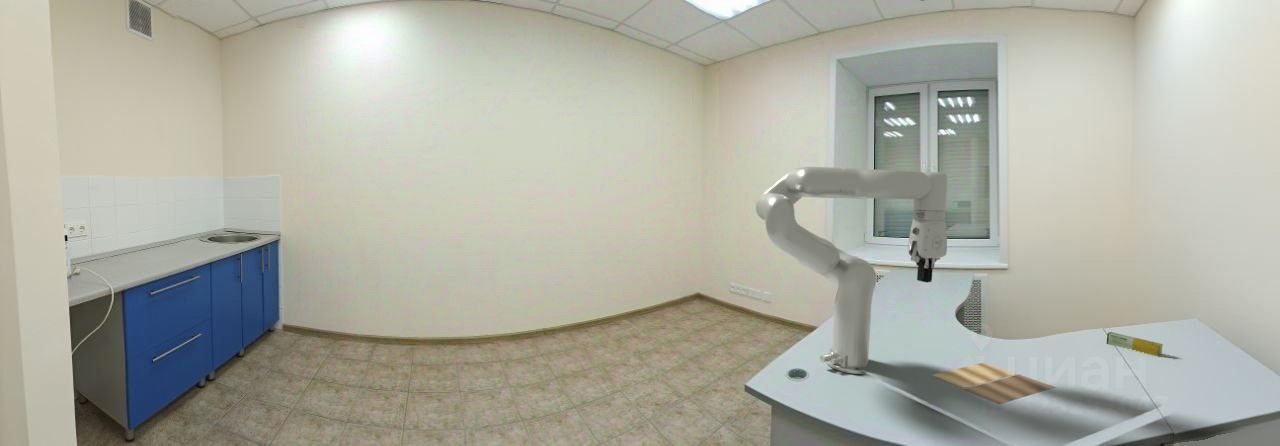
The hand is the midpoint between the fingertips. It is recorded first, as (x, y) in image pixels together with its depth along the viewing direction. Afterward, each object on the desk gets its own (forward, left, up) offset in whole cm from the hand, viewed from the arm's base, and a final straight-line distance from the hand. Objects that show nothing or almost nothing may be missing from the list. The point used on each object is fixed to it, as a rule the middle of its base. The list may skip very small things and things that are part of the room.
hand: (924, 281), depth 127 cm
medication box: (+77, -17, -26) cm, 83 cm away
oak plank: (+5, -12, -25) cm, 28 cm away
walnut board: (+6, -20, -25) cm, 33 cm away
